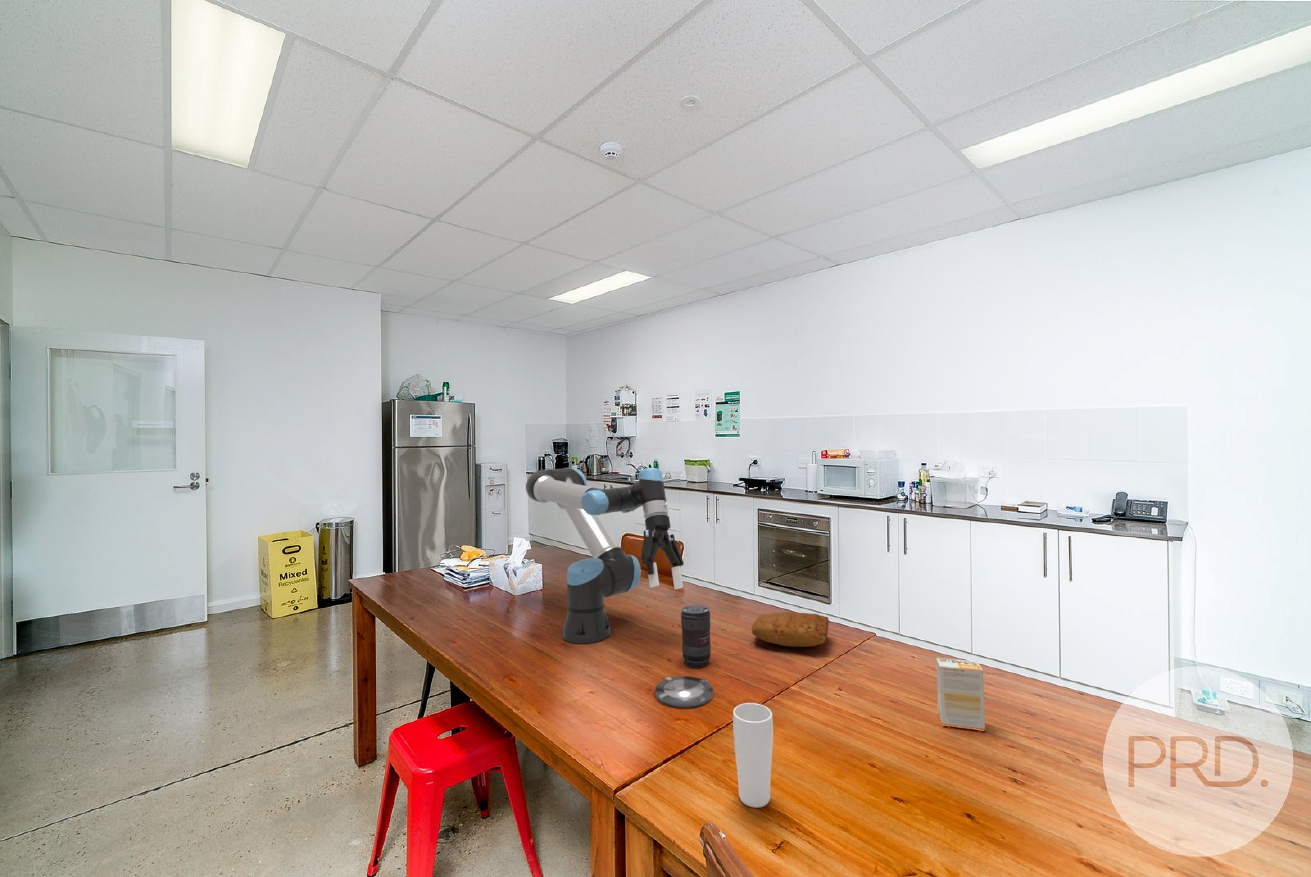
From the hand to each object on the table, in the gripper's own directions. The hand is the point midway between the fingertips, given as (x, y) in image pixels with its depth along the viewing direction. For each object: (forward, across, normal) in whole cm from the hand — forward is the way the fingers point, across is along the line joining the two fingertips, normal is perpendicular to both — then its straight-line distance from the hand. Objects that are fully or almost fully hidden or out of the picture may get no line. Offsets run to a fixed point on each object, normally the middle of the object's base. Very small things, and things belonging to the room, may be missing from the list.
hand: (667, 587), depth 155 cm
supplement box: (+42, +5, -64) cm, 76 cm away
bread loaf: (+20, +29, -22) cm, 42 cm away
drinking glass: (+44, -38, -34) cm, 67 cm away
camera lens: (+21, +4, -4) cm, 22 cm away
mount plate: (+28, -13, -8) cm, 32 cm away
